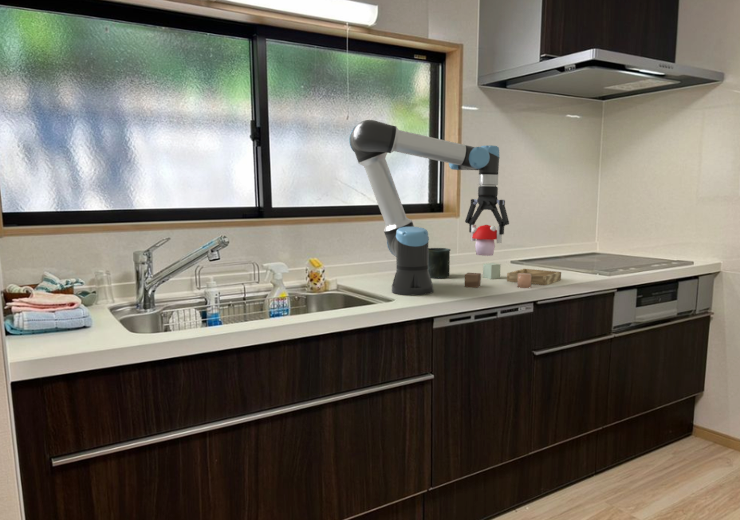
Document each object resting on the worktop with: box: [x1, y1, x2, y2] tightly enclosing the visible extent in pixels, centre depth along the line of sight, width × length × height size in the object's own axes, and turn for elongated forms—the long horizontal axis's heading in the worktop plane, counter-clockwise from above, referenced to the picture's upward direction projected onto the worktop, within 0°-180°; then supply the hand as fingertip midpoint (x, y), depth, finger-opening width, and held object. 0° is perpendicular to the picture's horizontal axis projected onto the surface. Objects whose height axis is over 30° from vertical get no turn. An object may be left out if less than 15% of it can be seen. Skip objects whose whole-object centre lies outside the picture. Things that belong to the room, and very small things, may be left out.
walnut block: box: [464, 272, 482, 289], centre depth 209 cm, size 5×5×5 cm
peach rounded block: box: [516, 273, 532, 289], centre depth 207 cm, size 5×5×5 cm
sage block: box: [482, 262, 501, 280], centre depth 229 cm, size 5×5×6 cm
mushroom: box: [472, 224, 497, 257], centre depth 215 cm, size 11×11×12 cm
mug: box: [428, 247, 451, 279], centre depth 233 cm, size 11×15×12 cm
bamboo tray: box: [506, 268, 562, 286], centre depth 221 cm, size 16×16×3 cm
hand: (485, 242), depth 215 cm, fingers closed on mushroom, 11 cm apart
